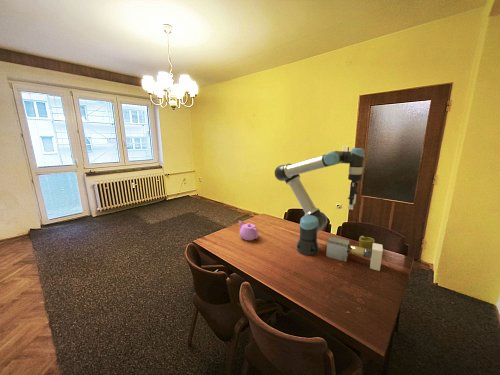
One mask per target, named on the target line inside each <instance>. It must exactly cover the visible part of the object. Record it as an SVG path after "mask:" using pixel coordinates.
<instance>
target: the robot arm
mask: <svg viewBox="0 0 500 375" xmlns="http://www.w3.org/2000/svg"><path fill="white" fill-rule="evenodd" d="M364 161H365V149H364V148H359V147H358V148H357V147H355V148H351V149H350V150H349V151H346V150H345V151H342V150H340V151H339V150H332V151H331V152H328V153H326V154H323V155H319V156H315V157H313V158H309V159H306V160H302V161H299V162H295V163H287V164H282V165H278V166H277V167H276V168H275V169H274V177H275V178H276V180H278V181H280V182H285V184H286V185H289V187H290V188H291V190H292V193H293V194H294V196H295V198H296V199H297V201H298V203H299V204H300V206H301V208H302V210H303V212H304V215H303V216H302V217H301V218H300V221H299V238H298V240H297V243H296V251H297V252H298V253H300V254H302V255H305V256H315V255H317V254H319V253H320V246H319V243H318V233H319V232H320V231H321V230H322V229H324V228H325V227H326V226H327V224H328V218H327V215H326V214H325V213H324V212H322V211H321V210H320V208H318V207H316V205H315V204H314V202H313V201H312V199H311V197H310V195H309V193H308V192H307V190H306V188H305V186H304V185H303V183H302V182H301V180H300V178H301V174H305V173H308V172H312V171H315V170H319V169H324V168H327V167H332V166H336V165H338V164H347V165H348V164H349V166H348V175H347V176H348V178H347V179H348V180H349V181H351V182H350V186H349V196H348V198H347V200H348V206H347V208H348V210H352V211H353V210H354V206H355V205H356V201H357V195H358V185H359V182H361V181H362V178H363V171H364ZM358 181H359V182H358Z"/></svg>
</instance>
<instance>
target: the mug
mask: <svg viewBox="0 0 500 375" xmlns="http://www.w3.org/2000/svg"><path fill="white" fill-rule="evenodd" d="M375 241H376V240H375V239H374V238H372V237H368V236H364V235H360V236H359V239H358V247H361V248H367V249H370V250H372V246H373V243H376V242H375Z"/></svg>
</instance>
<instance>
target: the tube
mask: <svg viewBox="0 0 500 375" xmlns="http://www.w3.org/2000/svg"><path fill="white" fill-rule="evenodd" d="M347 253H348V254H353V255H356V256H359V257H363V258H367V259H371V256H372V250H370V249H367V248H361V247H359V246H355V245H352V244H349V245H348V250H347Z"/></svg>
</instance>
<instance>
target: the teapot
mask: <svg viewBox="0 0 500 375" xmlns="http://www.w3.org/2000/svg"><path fill="white" fill-rule="evenodd" d="M238 223H239V236H240V238H241V239H242V240H244V241H253V240H255V239H258V236H259V232H258V231H259V230H258V228H257V226H256V225H255V224H253V223H250V222H248V223H244V224H243V223H242V221H241V220H238Z"/></svg>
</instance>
